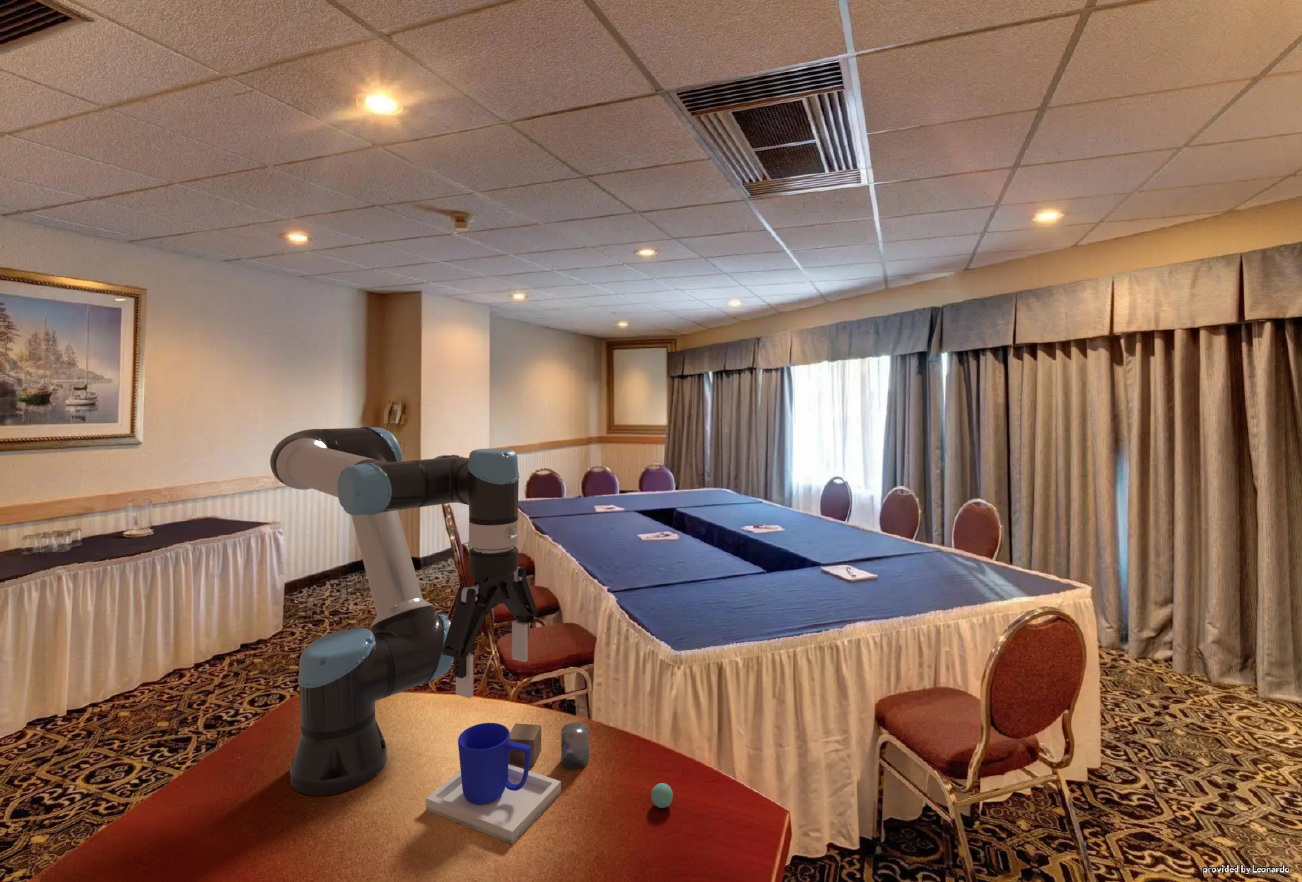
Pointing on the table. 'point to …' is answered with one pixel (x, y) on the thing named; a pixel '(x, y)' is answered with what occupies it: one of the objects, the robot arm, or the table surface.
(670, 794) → the ball
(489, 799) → the mug
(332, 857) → the table surface
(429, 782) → the table surface
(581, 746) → the tin
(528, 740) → the walnut block
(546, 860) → the table surface
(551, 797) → the tray
